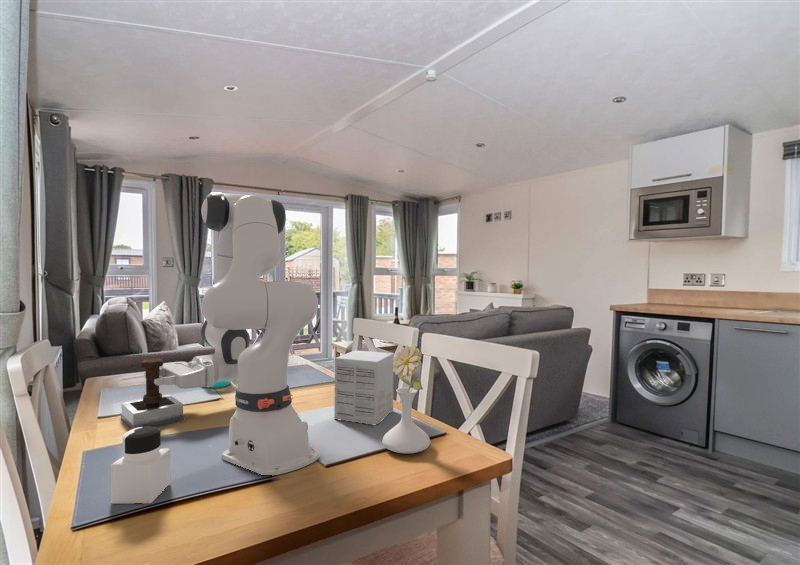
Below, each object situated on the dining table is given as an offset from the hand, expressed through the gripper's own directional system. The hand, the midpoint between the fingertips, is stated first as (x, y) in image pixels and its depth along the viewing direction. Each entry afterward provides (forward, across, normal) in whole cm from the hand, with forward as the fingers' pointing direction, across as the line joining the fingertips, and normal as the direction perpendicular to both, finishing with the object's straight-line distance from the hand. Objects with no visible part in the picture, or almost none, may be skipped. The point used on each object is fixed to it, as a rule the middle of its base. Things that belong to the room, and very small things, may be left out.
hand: (149, 378), depth 118 cm
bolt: (-1, 0, +10) cm, 10 cm away
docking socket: (-1, 0, +12) cm, 12 cm away
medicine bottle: (+12, +42, +12) cm, 45 cm away
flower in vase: (-38, +62, +12) cm, 73 cm away
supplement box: (-46, +37, +12) cm, 60 cm away
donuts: (-28, -24, +12) cm, 38 cm away
